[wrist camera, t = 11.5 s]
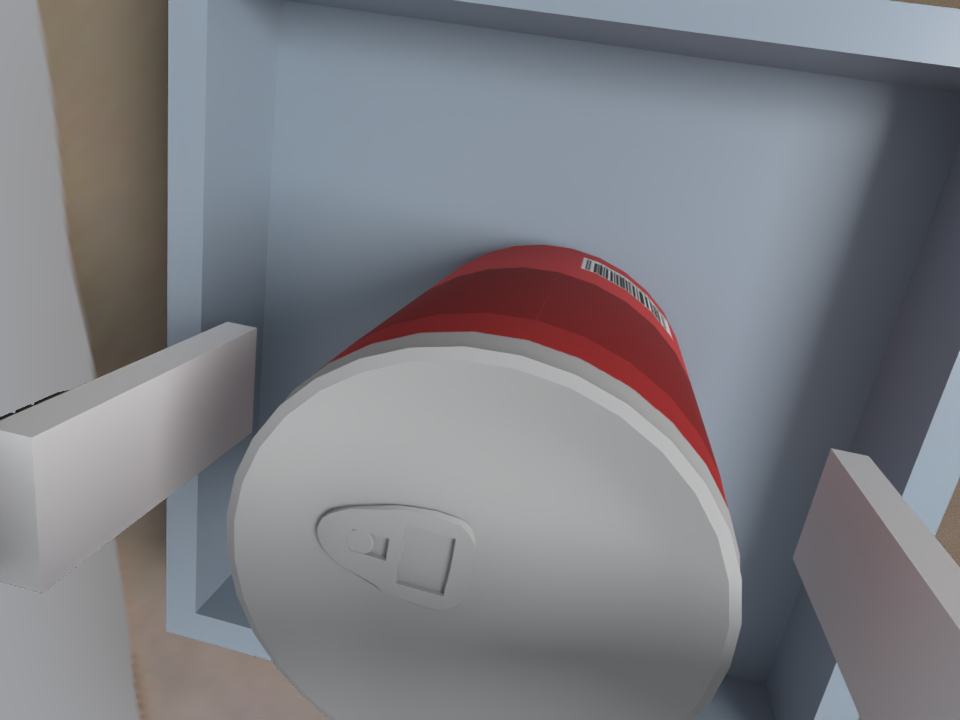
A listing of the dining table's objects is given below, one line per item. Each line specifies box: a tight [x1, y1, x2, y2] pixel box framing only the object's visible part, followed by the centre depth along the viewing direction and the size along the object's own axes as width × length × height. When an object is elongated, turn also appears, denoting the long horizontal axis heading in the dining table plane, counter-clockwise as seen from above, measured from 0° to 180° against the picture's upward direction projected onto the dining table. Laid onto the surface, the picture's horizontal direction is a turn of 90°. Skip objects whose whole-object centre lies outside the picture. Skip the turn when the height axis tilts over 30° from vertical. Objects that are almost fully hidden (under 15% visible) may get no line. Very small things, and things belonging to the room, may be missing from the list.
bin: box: [166, 0, 960, 720], centre depth 19 cm, size 20×20×4 cm
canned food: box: [227, 245, 742, 720], centre depth 15 cm, size 8×8×11 cm
